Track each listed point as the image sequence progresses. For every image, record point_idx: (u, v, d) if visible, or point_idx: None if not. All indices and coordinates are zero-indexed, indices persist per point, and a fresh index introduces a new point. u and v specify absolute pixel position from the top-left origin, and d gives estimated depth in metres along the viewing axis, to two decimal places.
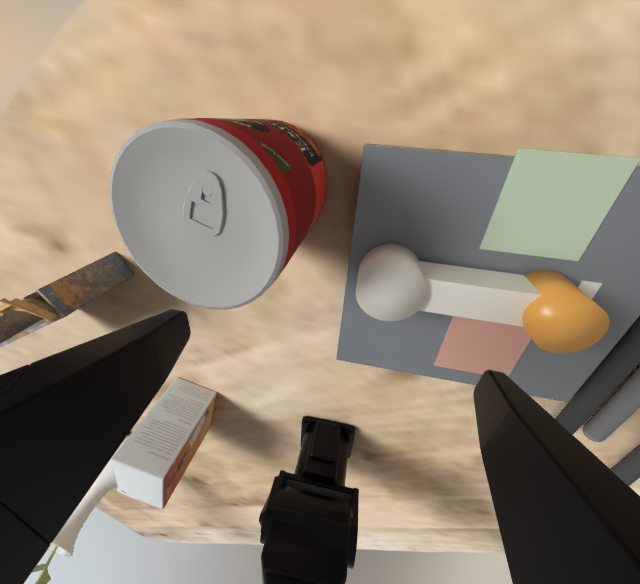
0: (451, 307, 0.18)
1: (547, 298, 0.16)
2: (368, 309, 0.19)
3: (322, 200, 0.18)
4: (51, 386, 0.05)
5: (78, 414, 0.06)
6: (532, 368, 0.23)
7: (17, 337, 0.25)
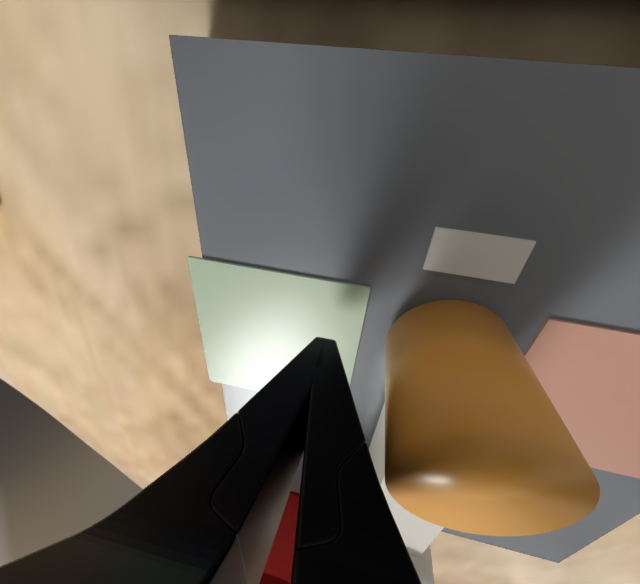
0: (418, 531, 0.10)
1: None
2: None
3: (285, 519, 0.17)
4: (278, 440, 0.05)
5: (285, 466, 0.05)
6: None
7: None
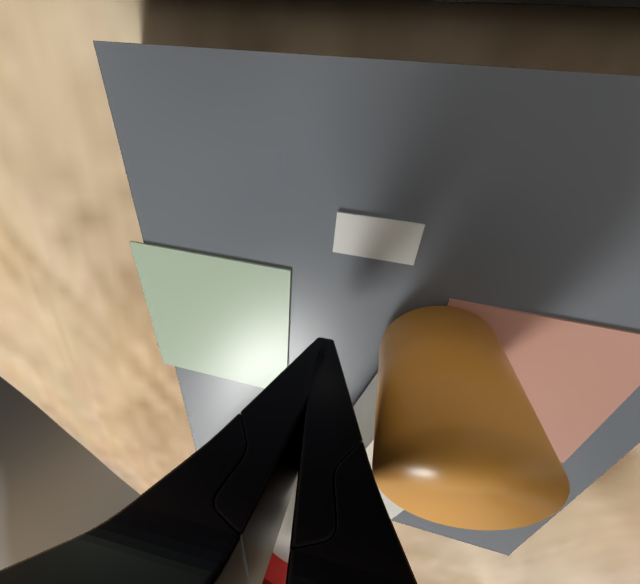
0: None
1: None
2: None
3: None
4: (281, 441, 0.05)
5: (288, 466, 0.05)
6: None
7: None
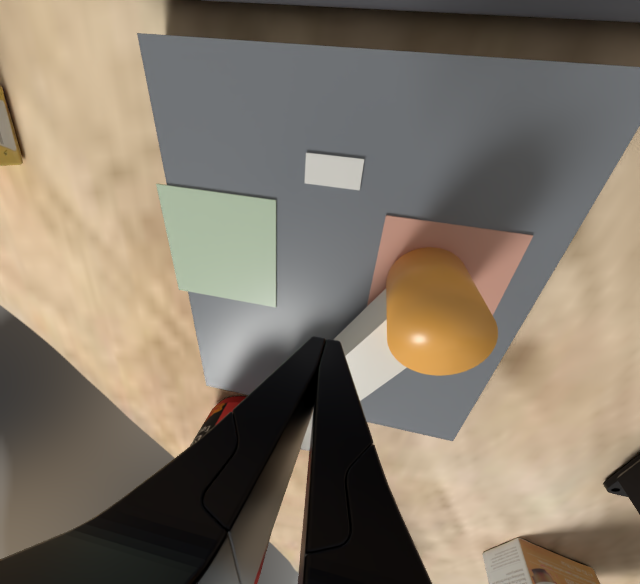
0: None
1: None
2: None
3: None
4: (272, 439, 0.05)
5: (280, 464, 0.05)
6: (508, 195, 0.11)
7: None
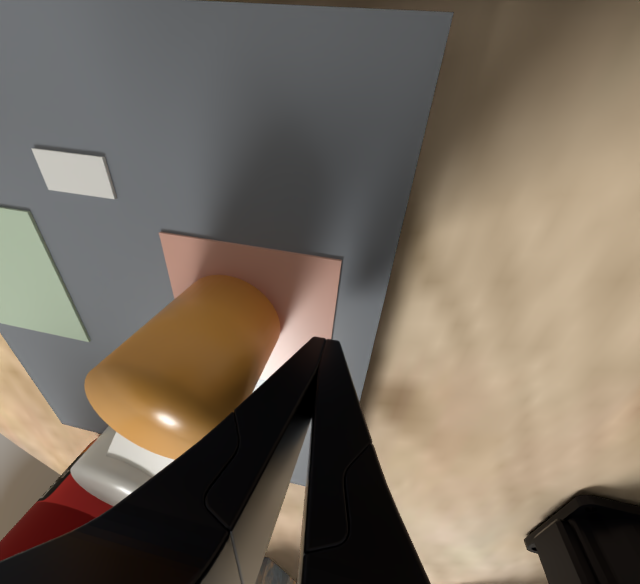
0: (156, 457, 0.11)
1: None
2: None
3: None
4: (274, 439, 0.05)
5: (281, 464, 0.05)
6: (295, 206, 0.08)
7: None
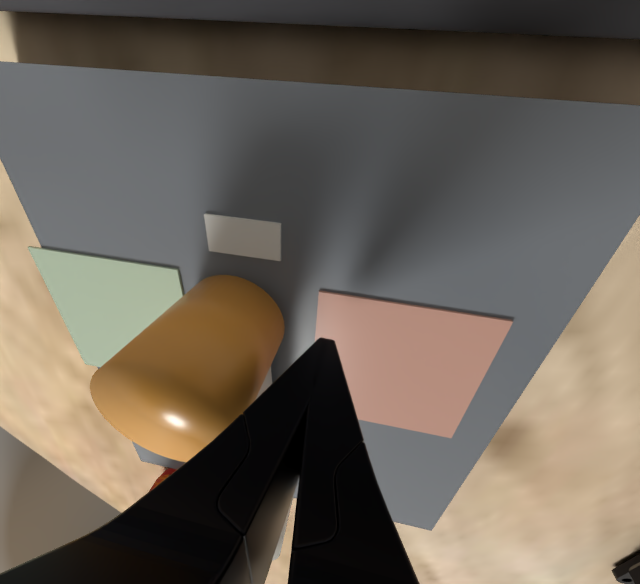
0: None
1: None
2: None
3: None
4: (284, 441, 0.05)
5: (290, 467, 0.05)
6: (477, 272, 0.08)
7: None
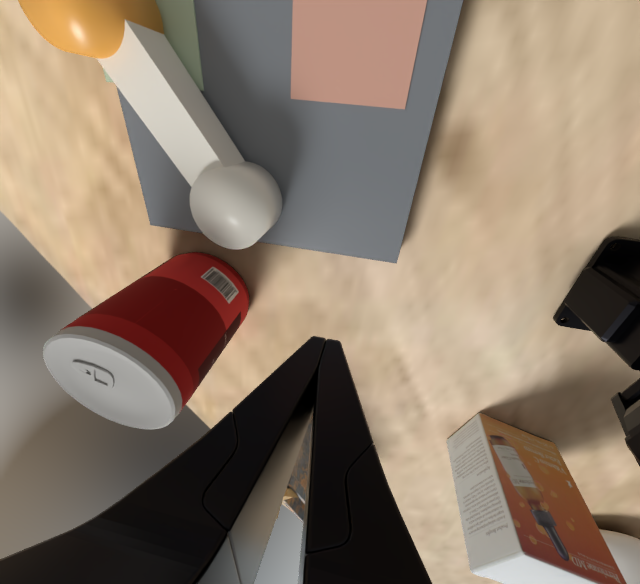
0: (188, 132, 0.14)
1: (86, 55, 0.13)
2: (260, 217, 0.15)
3: (192, 262, 0.21)
4: (272, 439, 0.05)
5: (280, 464, 0.05)
6: None
7: None
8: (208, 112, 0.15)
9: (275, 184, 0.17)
